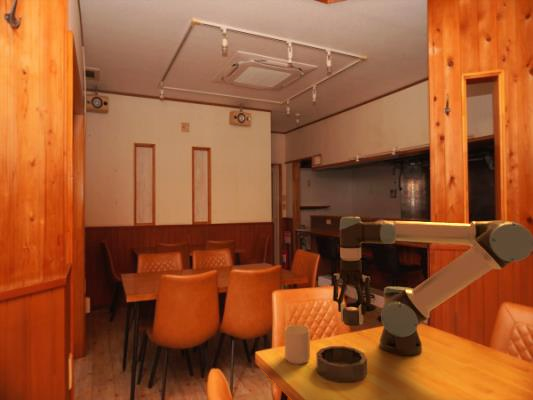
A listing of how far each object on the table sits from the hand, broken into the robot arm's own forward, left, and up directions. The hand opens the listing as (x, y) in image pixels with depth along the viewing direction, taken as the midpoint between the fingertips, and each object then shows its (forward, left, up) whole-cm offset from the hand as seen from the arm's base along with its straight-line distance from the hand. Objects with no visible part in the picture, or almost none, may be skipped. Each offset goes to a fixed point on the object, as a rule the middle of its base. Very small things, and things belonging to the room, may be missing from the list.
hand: (352, 322), depth 133 cm
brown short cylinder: (0, 0, 0) cm, 0 cm away
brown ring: (+6, +12, -12) cm, 18 cm away
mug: (+20, +2, -12) cm, 24 cm away
